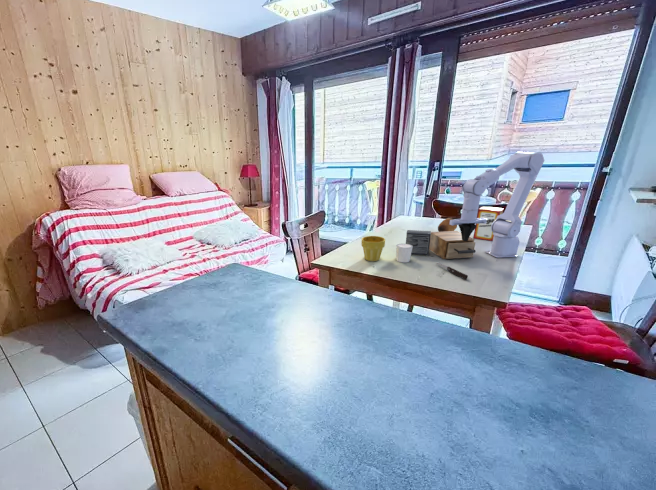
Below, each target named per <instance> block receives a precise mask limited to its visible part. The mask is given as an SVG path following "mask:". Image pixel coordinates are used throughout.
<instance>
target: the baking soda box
mask: <svg viewBox="0 0 656 490" xmlns="http://www.w3.org/2000/svg"><path fill="white" fill-rule="evenodd" d="M503 213H504V208H502V207H493V206H481V207H479V208H478V213H477V218H485V219H487V221H486V224H483V223H479V224H475V225H477V226H476V228H475V229H474V230H473V237H472V238H473V239H474V240H475V239H477V240H483V241H490V242H493V237H494V235H493V232H492V231H491V225H492V223H493V222H494V221H495V220H496V218H497V216H498V215H500V214H503Z"/></svg>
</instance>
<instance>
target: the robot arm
mask: <svg viewBox="0 0 656 490" xmlns="http://www.w3.org/2000/svg"><path fill="white" fill-rule="evenodd" d="M544 162H545V158H544V155H543V153H542V152H539V151H537V152H529V151H527V152H525V151H524V152H523V151H517V152H515V153H512V154H510V156H509V158H508V159H507V160H506V161H504V162H503V163H501V164H500V165H498V166H497V167H496V168H487V169H485V171H484V172H482V173H481V174H479V175H476V176H475V178H470V179H467V180H466V181H465V182H464V184H463V185H461V186H462V187H461V189H462V192H463V202H462V207H461V215H460V218H454V219H455V220H450V223H449V224H450V225H457V227H458V228H459V232H460V233H461V235H462V240H463V241H468V239H469V237H471V235H472V233H474V231H475V228H476V226H477V225H476V224H479V223H483V224H486V221H487V219H485V218H477V215H478V209H479V208H480V203H481V202H480V201H481V196H482V195H483V194H484V193H485V192H486V190H487V189H488V188H489V187H490V186H492V185H493V184H495V183H496V182H498V181H499V180H500V177H501V176H503V175H504V174H506V173H508V172H511V171H513V170H514V171H515V172H516V173H517V174H518V176H519V179H518V181H517V183H516V185H515V188H514V190H513V191H512V194H511V195H510V196H511V197H510V198H509V201H508V203H507V205H506V207H505V210H504V211H503V214H500V215H498V216H497V218H496V220H495V221H494V222H493V223H492V225H491V231H492V232H493V235H494V237H493V241H491V247H490V250H486V251H485V253H486V254H488V255H490V256H492V257H494V258H496V259H498V258H516V257H518V249H519V246H520V239H519V237H518V235H519V233H521V227H522V224H523V221H522V219H521V218H520V216H519V215H520V213H521V211H522V209H523V208H524V205H525V203H526V200H527V198H528V196H529V195H530V193H531V190H532V188H533V185H534V184H535V182H536V179H537V177H538V175H539V173H540V172H541V169H542V166H543V165H544Z"/></svg>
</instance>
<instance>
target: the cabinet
mask: <svg viewBox="0 0 656 490" xmlns="http://www.w3.org/2000/svg"><path fill="white" fill-rule="evenodd" d="M468 241H470V242H475V238H473V237H471V236H470V237H469V239H468ZM447 242H464V241H463V240H462V235H461V231H459V230H454V231H443V232H439V231H431V237H430V246H429V251H431V252H432V253H433V254H435V255H437V256H438V257H440V258H441V259H442V260H448V259H447V258H446V256H445V255H446V249H447ZM468 258H470V257H468ZM468 258H467V259H468ZM450 259H451V260H452V259H453V258H450Z"/></svg>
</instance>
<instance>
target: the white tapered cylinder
mask: <svg viewBox="0 0 656 490" xmlns="http://www.w3.org/2000/svg"><path fill="white" fill-rule="evenodd" d="M412 247H413V246H412V245H410V244H406V243H398V244H396V247H395V249H396V262H398V263H409V262H411V257H412V256H411V255H412V254H411V252H412Z"/></svg>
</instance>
